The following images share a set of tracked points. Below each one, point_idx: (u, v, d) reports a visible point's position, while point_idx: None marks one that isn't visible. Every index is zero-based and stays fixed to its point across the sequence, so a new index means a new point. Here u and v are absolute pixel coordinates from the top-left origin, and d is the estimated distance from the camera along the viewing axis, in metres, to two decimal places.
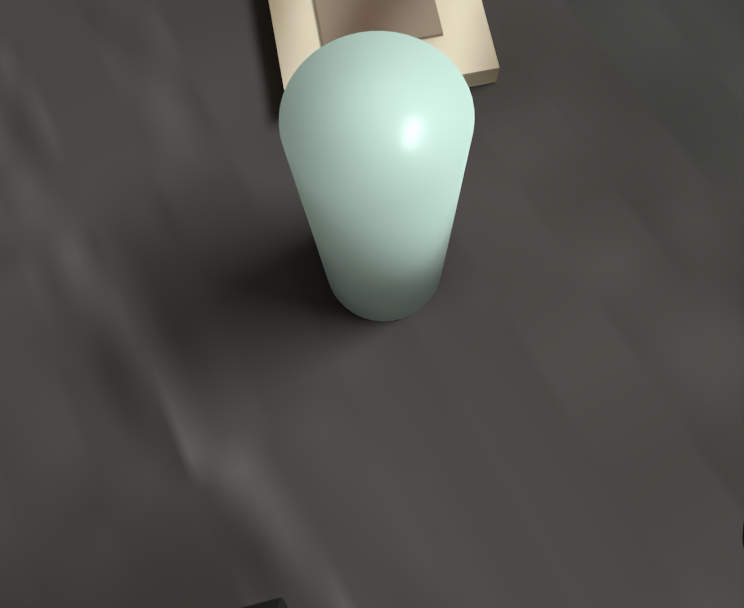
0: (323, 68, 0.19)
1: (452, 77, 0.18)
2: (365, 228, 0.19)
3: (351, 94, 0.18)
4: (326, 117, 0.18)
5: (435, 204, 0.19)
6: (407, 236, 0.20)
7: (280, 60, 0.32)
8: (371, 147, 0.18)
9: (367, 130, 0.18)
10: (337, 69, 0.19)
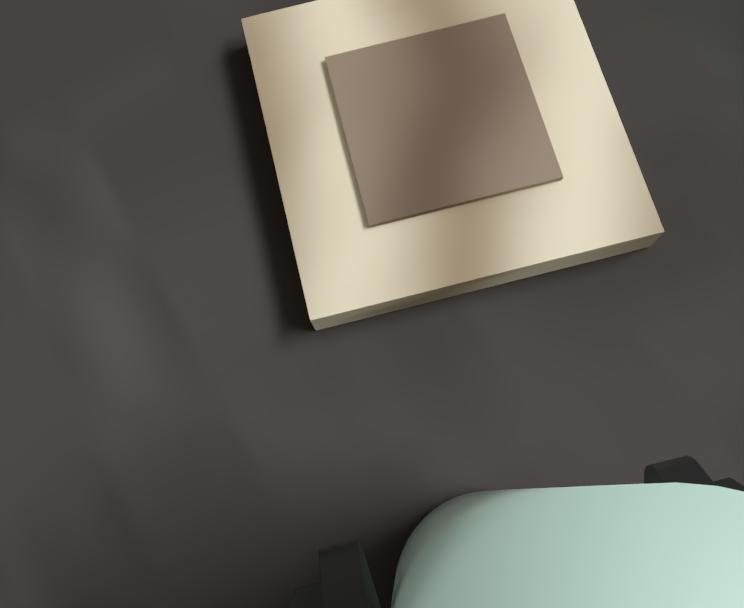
0: None
1: None
2: None
3: None
4: None
5: None
6: None
7: (293, 237, 0.19)
8: None
9: None
10: None
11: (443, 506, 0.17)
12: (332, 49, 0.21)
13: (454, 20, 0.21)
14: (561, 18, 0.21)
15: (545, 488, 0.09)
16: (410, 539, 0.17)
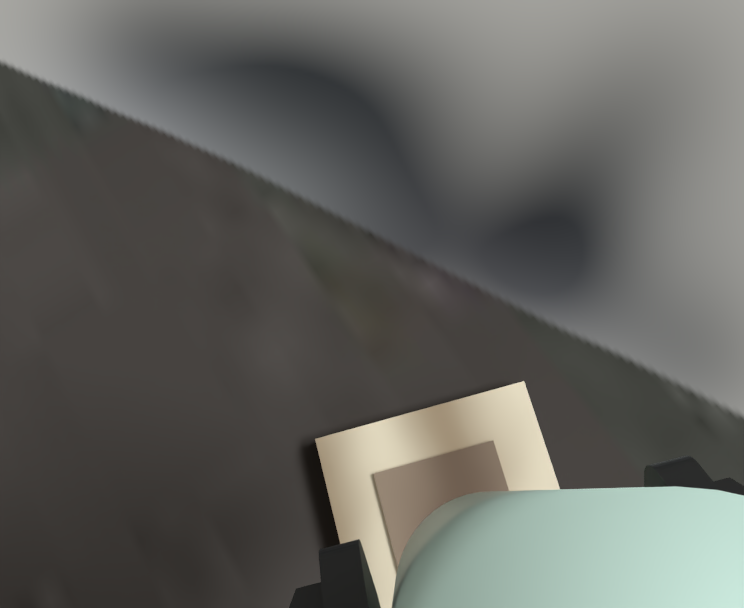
0: None
1: None
2: None
3: None
4: None
5: None
6: None
7: None
8: None
9: None
10: None
11: (444, 507, 0.16)
12: (378, 464, 0.31)
13: (459, 442, 0.31)
14: (531, 442, 0.31)
15: (545, 490, 0.09)
16: (411, 540, 0.17)
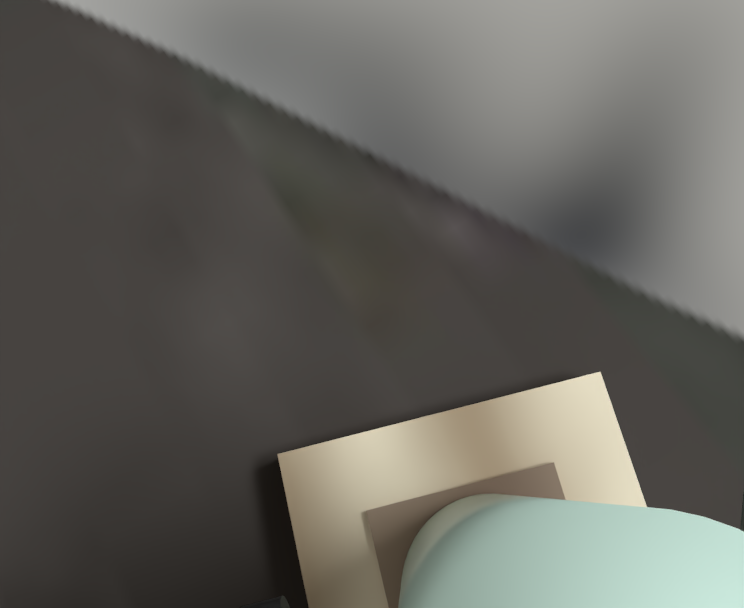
0: None
1: None
2: None
3: None
4: None
5: None
6: None
7: None
8: None
9: None
10: None
11: (446, 509, 0.18)
12: (373, 496, 0.20)
13: (500, 464, 0.20)
14: (612, 466, 0.20)
15: (535, 501, 0.11)
16: (416, 540, 0.18)
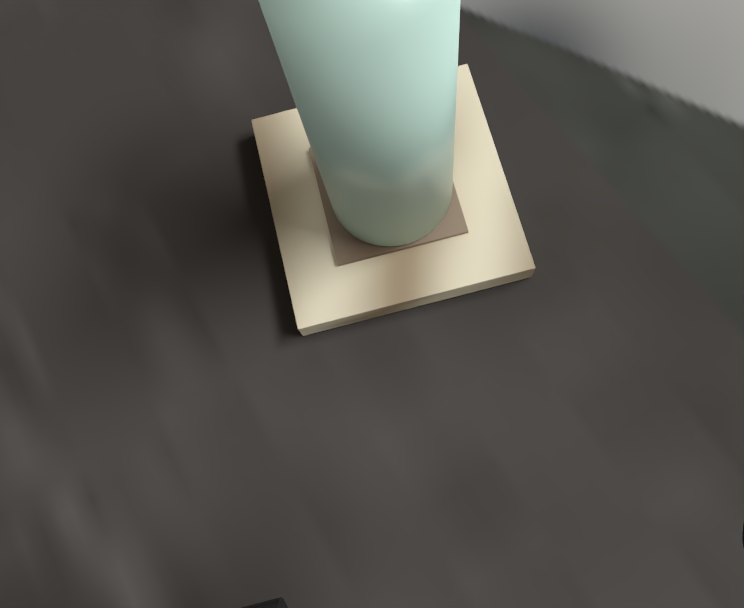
0: None
1: None
2: (354, 83, 0.17)
3: None
4: None
5: (429, 46, 0.17)
6: (403, 97, 0.18)
7: (287, 273, 0.29)
8: None
9: None
10: None
11: None
12: None
13: None
14: (472, 118, 0.30)
15: None
16: None
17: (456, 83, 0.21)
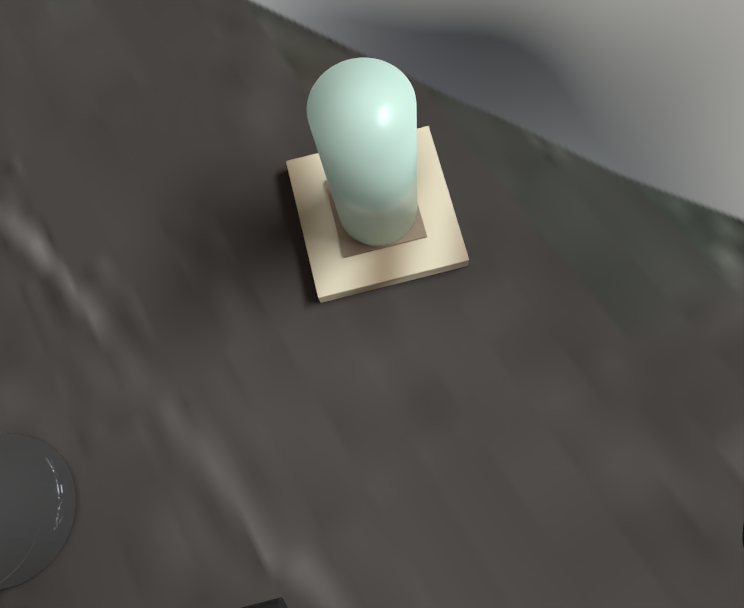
0: (328, 83, 0.33)
1: (401, 80, 0.32)
2: (362, 171, 0.33)
3: (346, 96, 0.32)
4: (333, 110, 0.32)
5: (400, 153, 0.33)
6: (387, 175, 0.34)
7: (310, 262, 0.44)
8: (360, 124, 0.32)
9: (357, 115, 0.32)
10: (336, 83, 0.33)
11: None
12: None
13: None
14: (431, 162, 0.46)
15: None
16: None
17: (416, 158, 0.37)
